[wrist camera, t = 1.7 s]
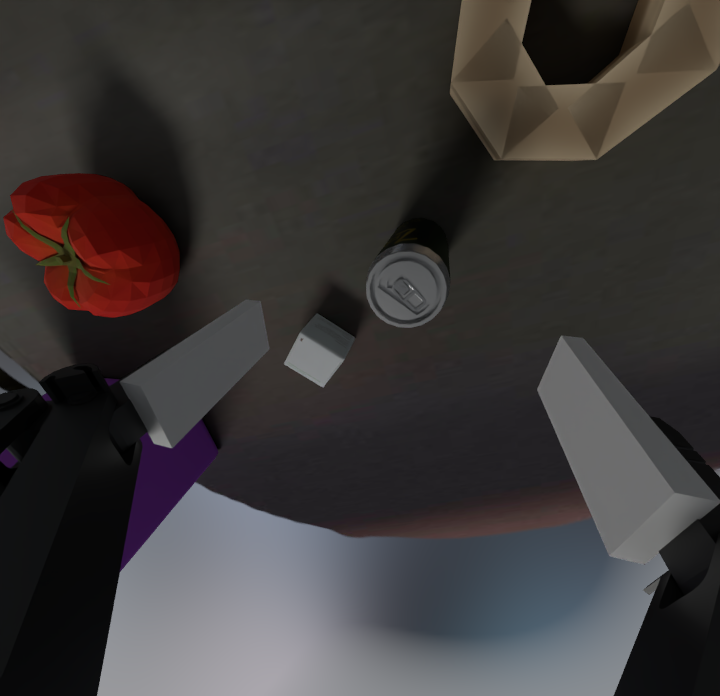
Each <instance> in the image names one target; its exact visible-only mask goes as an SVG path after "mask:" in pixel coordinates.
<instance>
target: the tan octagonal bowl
mask: <svg viewBox="0 0 720 696" xmlns="http://www.w3.org/2000/svg"><path fill="white" fill-rule="evenodd" d="M530 4H531V0H462V4H461V11H460V18H459V26H458V33H457V41H456V48H455V56H454V63H453V71H452V78H451V87H450V95H451V96H452V98H453V99H454V101H455V102H456V104H457V105H458V107H459V108H460V110H461V111H462V113H463V114H464V116H465V117H466V119H467V120H468V122H469V123H470V125H471V126H472V128H473V129H474V131H475V132H476V134H477V135H478V137H479V138H480V140H481V141H482V143H483V144H484V146H485V147H486V149H487V150H488V152H489V153H490V155H491V157H492V158H493V160H548V161H579V160H597V159H598V158H599V157H601V156H602V155H603V154H605V153H606V152H607V151H609V150H610V149H611V148H613V147H614V146H615V145H617V144H618V143H619V142H621V141H622V140H623V139H625V138H626V137H627V136H629V135H630V134H631V133H633V132H634V131H635V130H637V129H638V128H639V127H641V126H642V125H643V124H645V123H646V122H647V121H649V120H650V119H651V118H653V117H654V116H655V115H657V114H658V113H659V112H661V111H662V110H663V109H665V108H666V107H667V106H669V105H670V104H671V103H673V102H674V101H675V100H677V99H678V98H679V97H681V96H682V95H683V94H685V93H686V92H687V91H689V90H690V89H691V88H693V87H694V86H695V85H697V84H698V83H699V82H701V81H702V80H703V79H705V78H706V77H707V76H709V75H710V74H711V73H713V72H714V71H715V70H716V69H717V67H718V65H719V63H720V0H638V3H637V6H636V9H635V11H634V14H633V17H632V20H631V23H630V25H629V28H628V31H627V34H626V37H625V39H624V42H623V45H622V48H621V51H620V53H619V56H617V57H616V58H615V59H614V60H613V61H612V62H611V63H610V64H608V65H607V66H606V67H605V68H604V69H603V70H602V71H601V72H599V73H598V74H597V75H596V76H595V77H594V78H593V79H592V80H590V81H589V82H588V83H587V84H570V85H545V83H544V82H543V80H542V78H541V76H540V75H539V73H538V71H537V69H536V68H535V66H534V64H533V62H532V61H531V59H530V57H529V55H528V54H527V52H526V50H525V48H524V47H523V45H522V40H523V36H524V31H525V27H526V22H527V18H528V13H529V9H530Z"/></svg>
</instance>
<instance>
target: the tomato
mask: <svg viewBox="0 0 720 696" xmlns="http://www.w3.org/2000/svg"><path fill="white" fill-rule="evenodd" d="M10 196H11V201H12V205H13V210H12V211H10V212H9V213H8V214H7V215H6V216H4V217H3V218H4V223H5V228H6V234H7V235H8V236H9V238H10V239H11V240H12V241H13V242H14V243H15V245H16V246H17V247H18V248H19V249H20V250H21V251H23V252H24V253H26V254H28V255H29V256H31V257H33V258H35V259H36V260H38V261H40V262H39V263H37V264H36V265H40V266H46V267H45V275H44V283H45V285H46V286H47V288H48V290H49V291H50V293H51V295H52V296H53V298H54V299H55V300H57V301H58V302H59V303H61V304H62V305H63V306H65V307H66V308H67V309H71V310H85V311H89V312H91V313H92V314H93V315H95V316H103V317H111V318H114V317H120V316H126V315H130V314H133V313H135V312H138V311H141V310H143V309H145V308H147V307H149V306H150V305H152V304H154V303H156V302H157V301H159V300H161V299H163V298H164V297H166V296H167V295H168V294H169V293H170V292H171V291H172V289H173V288H174V286H175V285H176V283H177V282H178V276H179V270H180V251H179V248H178V245H177V243H176V240H175V237H174V235H173V233H172V232H171V230H170V229H169V228H168V226H167V225H166V223H165V222H164V220H163V219H162V218H161V217H159V216H158V215H157V214H156V213H155V212H154V211H153V210H152V209H151V208H150V207H149V206H148V205H146V204H145V203H143V202H142V201H140V200H139V199H138V198H137V196H136V195H135V194H134V192H133V191H132V190H131V189H130V188H128V187H127V186H126V185H124V184H123V183H120V182H118V181H116V180H114V179H112V178H109V177H105V176H101V175H97V174H81V173H76V174H59V175H50V176H41V177H38V178H35V179H32V180H29V181H27V182H24V183H22V184H21V185H20V186H19V187H18V188H17V189H16V190H15V191H14V192H13V193H12V194H11V195H10Z"/></svg>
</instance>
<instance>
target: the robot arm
mask: <svg viewBox="0 0 720 696" xmlns="http://www.w3.org/2000/svg"><path fill="white" fill-rule="evenodd" d="M268 350H269V343H268V338H267V333H266V327H265V322H264V317H263V311H262V306H261V301H256V300H248V299H246V300H245V301H243V302H242V303H240V304H239V305H237V306H236V307H234V308H232V309H231V310H229V311H228V312H226V313H225V314H223V315H222V316H220V317H219V318H217V319H216V320H214V321H212V322H211V323H209V324H208V325H206V326H205V327H203V328H202V329H200V330H199V331H197V332H196V333H194V334H192V335H191V336H189V337H188V338H186V339H185V340H183V341H182V342H180V343H179V344H177V345H175V346H174V347H171V348H169V349H167V350H165V351H163V352H162V353H160V354H159V355H157V356H156V357H155V359H154V358H152V359H151V360H149V361H148V362H146V364H145V365H144V364H143V365H142V366H140V367H138V368H137V369H135V370H134V371H132V372H131V373H129V374H128V375H126V376H124V377H123V378H121V379H120V380H118V381H117V382H115V383H114V384H112V385H110V386H108V384H107V382H106V381H105V379H104V377H103V375H102V374H101V372H100V370H99V369H98V367H97V366H96V365H94V364H87V363H85V364H77V365H72V366H69V367H65V368H62V369H60V370H57V371H55V372H53V373H51V374H49V375H48V376H46V377H44V378H43V379H42V380H41V381H40V382H39V383H40V385H41V386H42V387H43V389H44V390H45V391H46V393H47V394H48V395H49V397H50V398H51V399H52V400H50V401H45V400H44V399H43V397H42V396H41V395H40V393H39V392H38V391H37V390H35V389H20V390H13V391H9V392H7V393H3V394H0V454H1V453H2V452H3V451H4V450H5V449H7V450H8V451H9V452H10V453H11V454H12V455H13V456H14V457H15V458H16V459H17V460H18V461H17V462H16V464H15V465H14V466H12V467H11V468H8V467H6V466H5V465H4V464H3V463H2V462H1V461H0V696H97V692H98V687H99V682H100V676H101V671H102V665H103V659H104V654H105V649H106V644H107V638H108V633H109V627H110V622H111V616H112V611H113V606H114V600H115V594H116V589H117V584H118V578H119V573H120V568H121V562H122V557H123V551H124V546H125V540H126V535H127V529H128V524H129V519H130V513H131V508H132V502H133V497H134V491H135V486H136V481H137V475H138V470H139V464H140V459H141V453H142V448H143V446H142V442H141V440H140V438H141V437H142V436H143V435H144V434H145V433H147V432H148V434H149V436H150V438H151V439H152V441H153V443H154V444H157V445H161V446H165V447H169V448H173V447H174V446H175V445H176V444H177V443H178V442H179V441H180V440H181V439H182V438H183V437H184V436H185V435H186V434H187V433H188V432H189V431H190V430H191V429H192V428H193V427H194V426H195V425H196V424H197V423H198V422H199V421H200V420H201V419H202V418H203V417H204V416H205V415H206V414H207V412H208V411H209V410H210V409H211V408H212V407H213V406H214V405H215V404H216V403H217V402H218V401H219V400H220V399H221V398H222V397H223V396H224V395H225V394H226V393H227V392H228V391H229V390H230V389H231V388H232V387H233V386H234V385H235V384H236V383H237V382H238V381H239V380H240V379H241V378H242V377H243V376H244V375H245V374H246V373H247V372H248V371H249V370H250V369H251V368H252V366H253V365H254V364H255V363H256V362H257V361H258V360H259V359H260V358H261V357H262V356H263V355H264V354H265V353H266V352H267V351H268ZM537 390H538V392H539V395H540V397H541V399H542V402H543V404H544V406H545V409H546V411H547V413H548V416H549V418H550V420H551V423H552V425H553V427H554V429H555V432H556V434H557V436H558V439H559V441H560V443H561V446H562V448H563V450H564V453H565V455H566V457H567V459H568V462H569V464H570V466H571V469H572V471H573V473H574V476H575V478H576V480H577V483H578V485H579V487H580V490H581V492H582V494H583V496H584V499H585V501H586V503H587V506H588V508H589V510H590V513H591V515H592V517H593V520H594V522H595V524H596V526H597V529H598V531H599V533H600V536H601V538H602V540H603V542H604V545H605V547H606V550H607V552H608V554H609V556H612V557H615V558H619V559H623V560H627V561H632V562H636V563H640V564H644V565H645V564H646V563H648V562H649V561H650V560H651V559H652V558H654V557H655V556H656V555H657V554H658V553H660V555H661V556H662V558H663V560H664V562H665V563H666V565H667V567H668V569H669V571H667V572H666V573H665V574H663V575H662V576H660V577H659V578H658V579H656V580H655V581H654V582H652V583H651V584H650V585H648V586H647V587H646V588H645V589H644V591H645V592H646V593H648V594H649V595H650V594H651V593H652V592H654V591H655V590H656V591H655V594H654V596H653V598H652V601H651V603H650V606H649V608H648V611H647V613H646V616H645V618H644V621H643V624H642V626H641V629H640V631H639V634H638V636H637V639H636V641H635V644H634V646H633V649H632V651H631V654H630V656H629V659H628V661H627V664H626V666H625V669H624V671H623V674H622V677H621V679H620V681H619V684H618V687H617V689H616V692H615V694H614V696H720V477H719V476H718V475H717V474H716V473H715V471H714V470H713V469H712V468H711V467H710V466H709V465H706V464H705V462H706V461H705V460H704V459H703V458H702V457H701V456H700V455H699V454H698V453H697V452H696V451H693V449H694V448H693V447H692V446H691V445H690V444H689V443H688V442H687V441H686V439H685V438H684V437H683V436H682V435H681V434H680V433H679V432H678V431H676V430H675V429H674V428H672V427H671V426H669V425H668V424H667V423H665V422H664V421H662V420H661V419H660V418H655V417H649V416H648V414H647V413H646V412H645V411H644V410H643V409H642V407H641V406H640V405H639V404H638V403H637V401H636V400H635V399H634V398H633V397H632V395H631V394H630V393H629V392H628V391H627V390H626V388H625V387H624V386H623V385H622V384H621V382H620V381H619V380H618V379H617V378H616V377H615V375H614V374H613V373H612V372H611V371H610V369H609V368H608V367H607V366H606V365H605V363H604V362H603V361H602V360H601V359H600V358H599V356H598V355H597V354H596V353H595V352H594V350H593V349H592V348H591V347H590V346H589V344H588V343H587V342H586V341H585V340H584V339H583V338H579V337H570V336H561V337H560V339H559V341H558V344H557V346H556V348H555V350H554V353H553V355H552V357H551V360H550V362H549V364H548V366H547V369H546V371H545V373H544V375H543V378H542V380H541V382H540V384H539V387H538V389H537Z"/></svg>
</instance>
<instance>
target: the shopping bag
mask: <svg viewBox="0 0 720 696" xmlns="http://www.w3.org/2000/svg"><path fill="white" fill-rule="evenodd" d="M104 379H105V381H106V382H107V384H108V386H110V385H112V384H114V383H115V382H117V381H118V380H120V379H109V378H104ZM42 397H43V399H44V400H45V401H50V400H52V399H51V398H50V397H49V395H48V394H47V393H46V394H44V395H43V396H42ZM140 440H141V442H142V446H143V448H142V453H141V459H140V464H139V470H138V475H137V481H136V486H135V491H134V497H133V502H132V508H131V513H130V519H129V524H128V529H127V535H126V540H125V546H124V551H123V557H122V562H121V568H120V571H121V570H122V569H123V568H124V567H125V565H126V564H127V563H128V562H129V561H130V559H131V558H132V557H133V556H134V555H135V553H136V552H137V551H138V550H139V549H140V547H141V546H142V545H143V544H144V543H145V541H146V540H147V539H148V538H149V537H150V535H151V534H152V533H153V532H154V531H155V529H156V528H157V527H158V526H159V525H160V523H161V522H162V521H163V520H164V519H165V517H166V516H167V515H168V514H169V512H170V511H171V510H172V509H173V508H174V507H175V505H176V504H177V503H178V502H179V501H180V499H181V498H182V497H183V496H184V495H185V493H186V492H187V491H188V490H189V489H190V487H191V486H192V485H193V484H194V483H195V482H196V480H197V479H198V478H199V477H200V476H201V474H202V473H203V472H204V471H205V470H206V468H207V467H208V466H209V465H210V464H211V462H212V461H213V460H214V459H215V457H216V456H217V454H218V449H217V447H216V445H215V443H214V441H213V439H212V437H211V435H210V434H209V432H208V430H207V428H206V426H205V424H204V422H203V420H202V419H201V420H200V421H199V422H198V423H197V424H196V425H195V426H194V427H193V428H192V429H191V430H190V431H189V432H188V433H187V434H186V435H185V436H184V437H183V438H182V439H181V440H180V441H179V442H178V443H177V444H176V445H175V446H174V447H173V448H169V447H165V446H161V445H157V444H154V443H153V441H152V439H151V438H150V436H149V434H148V432H147V433H145V434H144V435H143V436H142V437H141V438H140ZM0 461H1V462H2V463H3V464H4V465H5V466H6V467H8V468H11V467H12V466H14V465H15V464H16V462H17V461H18V460H17V459H16V458H15V457H14V456H13V455H12V454H11V453H10V452H9V451H8V450H7V449H5V450H4V451H3V452H2V453H1V454H0Z"/></svg>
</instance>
